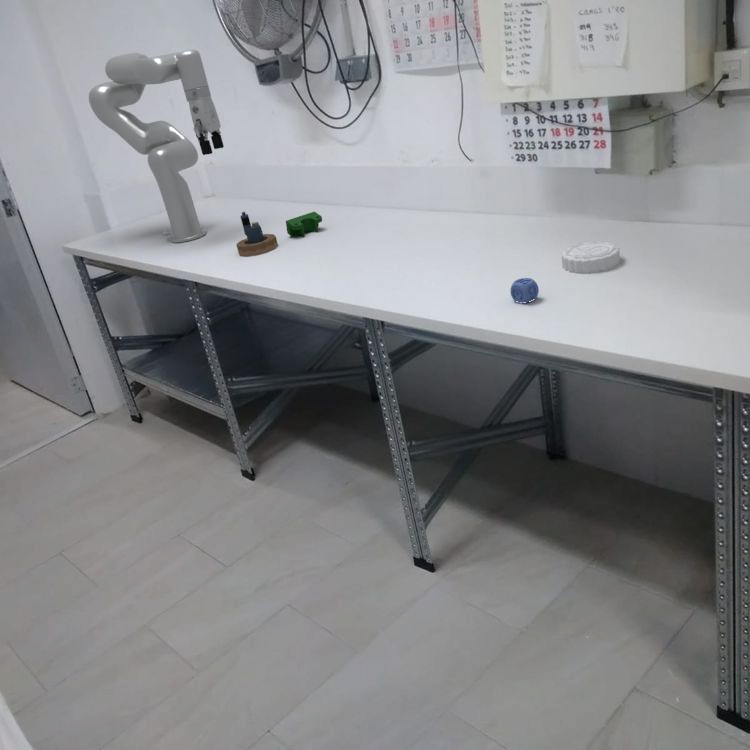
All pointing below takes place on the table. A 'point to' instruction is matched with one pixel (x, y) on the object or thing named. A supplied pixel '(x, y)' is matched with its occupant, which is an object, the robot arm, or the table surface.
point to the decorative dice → (524, 290)
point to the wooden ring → (257, 246)
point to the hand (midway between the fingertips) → (213, 151)
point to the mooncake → (590, 257)
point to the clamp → (303, 224)
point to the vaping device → (251, 230)
